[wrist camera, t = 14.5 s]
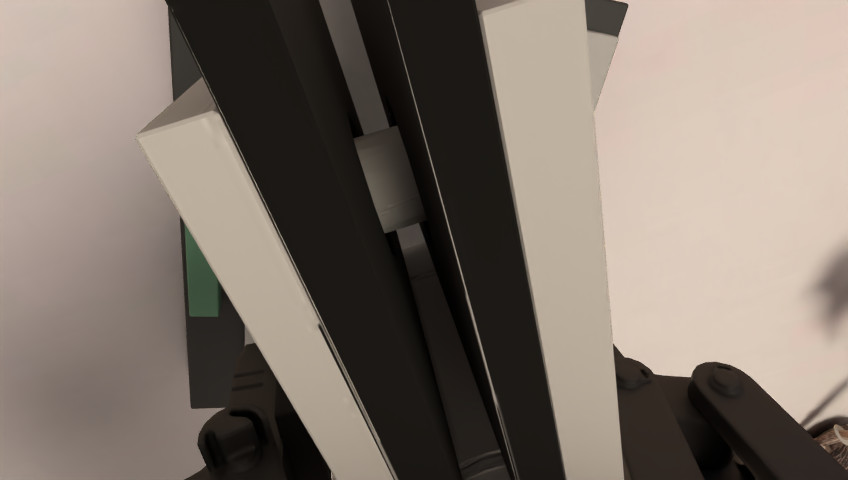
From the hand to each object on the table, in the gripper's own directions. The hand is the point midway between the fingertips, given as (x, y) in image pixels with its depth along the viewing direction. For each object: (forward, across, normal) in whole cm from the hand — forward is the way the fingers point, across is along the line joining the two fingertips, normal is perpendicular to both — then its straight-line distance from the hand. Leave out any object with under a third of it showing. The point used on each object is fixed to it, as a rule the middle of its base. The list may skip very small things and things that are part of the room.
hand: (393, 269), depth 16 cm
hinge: (-10, -1, +2) cm, 10 cm away
